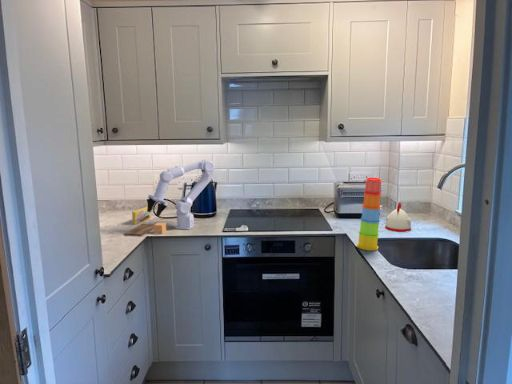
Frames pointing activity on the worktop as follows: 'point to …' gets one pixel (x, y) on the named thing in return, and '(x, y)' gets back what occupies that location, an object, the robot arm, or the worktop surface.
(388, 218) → the cream dome
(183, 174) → the robot arm
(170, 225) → the worktop surface
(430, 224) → the worktop surface
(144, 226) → the walnut board
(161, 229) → the orange cube
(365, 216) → the stacking cups
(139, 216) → the candy box
